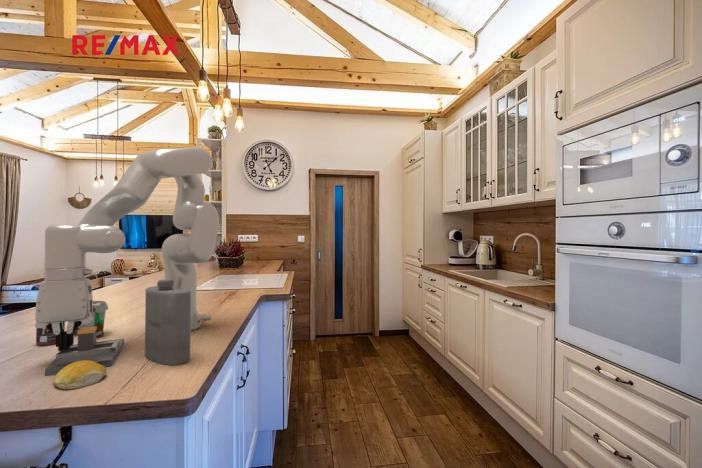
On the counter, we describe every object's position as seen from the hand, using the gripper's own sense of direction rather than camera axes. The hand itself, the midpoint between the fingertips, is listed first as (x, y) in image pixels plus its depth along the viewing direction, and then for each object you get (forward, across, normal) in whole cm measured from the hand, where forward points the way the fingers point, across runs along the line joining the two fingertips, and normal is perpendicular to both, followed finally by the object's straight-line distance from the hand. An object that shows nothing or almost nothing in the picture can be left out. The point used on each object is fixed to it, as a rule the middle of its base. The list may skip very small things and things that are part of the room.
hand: (64, 348), depth 78 cm
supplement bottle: (+3, +8, -19) cm, 21 cm away
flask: (+3, -22, +8) cm, 24 cm away
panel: (+3, -5, 0) cm, 6 cm away
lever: (+1, -4, 0) cm, 4 cm away
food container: (+3, -1, -23) cm, 23 cm away
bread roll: (+4, -7, +14) cm, 16 cm away
